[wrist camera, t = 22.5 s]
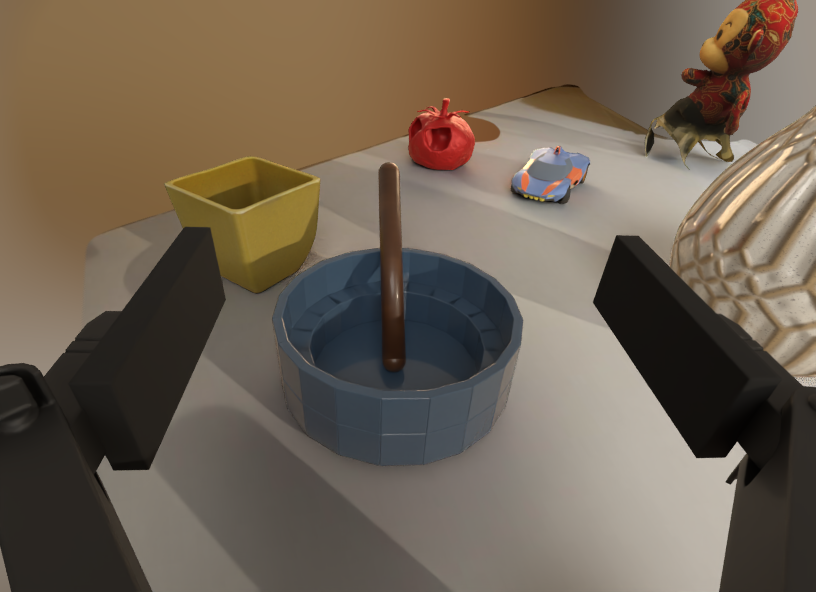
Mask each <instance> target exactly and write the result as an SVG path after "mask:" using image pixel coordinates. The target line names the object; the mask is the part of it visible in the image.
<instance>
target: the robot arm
mask: <svg viewBox="0 0 816 592" xmlns="http://www.w3.org/2000/svg"><path fill="white" fill-rule="evenodd" d="M225 300H226V298H225V293H224V289H223V284H222V279H221V275H220V270H219V265H218V261H217V256H216V251H215V247H214V242H213V237H212V232H211V228H210V227H184V228H183V230H182V231H181V232H180V234H179V235H178V236H177V238H176V239H175V240H174V242H173V243H172V245H171V246H170V247H169V249H168V250H167V251H166V253H165V254H164V255H163V257H162V258H161V259H160V261H159V262H158V263H157V265H156V266H155V267H154V269H153V270H152V271H151V273H150V274H149V275H148V277H147V278H146V280H145V281H144V282H143V284H142V285H141V286H140V288H139V289H138V290H137V292H136V293H135V294H134V296H133V297H132V298H131V300H130V301H129V302H128V304H127V305H126V306H125V308H124V309H123V310H122V311H105V312H104V313H102V314H101V315H99V316H98V317H96V318H95V319H93V320H92V321H90V322H89V323H87V324H86V326H85V327H84V328H83V329H82V330H81V332H80V333H79V334H78V335H77V337H76V338H75V341H73V342H72V343H71V344H70V345H69V347H68V348H67V349H66V352H65V353H63V354H62V355H61V356H60V357H59V359H58V360H57V361H56V362H55V364H54V365H53V366H52V367H51V369H50V370H49V371H48V372H47V373H46V375H45V376H44V377H43V375H42V373H41V372H40V370H38V369H37V368H36V367H35V366H33V365H29V364H25V363H19V364H7V365H4V366H0V547H1V551H2V555H3V559H4V563H5V567H6V572H7V576H8V580H9V584H10V588H11V592H152V590H151V587H150V585H149V583H148V581H147V579H146V577H145V574H144V572H143V570H142V568H141V566H140V564H139V561H138V559H137V557H136V555H135V553H134V550H133V548H132V546H131V544H130V542H129V540H128V537H127V535H126V533H125V531H124V529H123V527H122V524H121V522H120V520H119V518H118V516H117V514H116V511H115V509H114V507H113V505H112V503H111V501H110V498H109V496H108V494H107V492H106V490H105V488H104V485H103V483H102V481H101V479H100V477H99V475H98V473H97V472H96V470H97V468H98V467H99V465H100V463H101V461H102V459H103V458H104V456H105V455H106V457H107V459H108V461H109V463H110V465H111V467H112V469H113V470H149V468H150V466H151V464H152V462H153V460H154V457H155V455H156V453H157V451H158V448H159V446H160V444H161V442H162V440H163V437H164V435H165V433H166V431H167V429H168V426H169V424H170V422H171V420H172V417H173V415H174V413H175V411H176V409H177V406H178V404H179V402H180V400H181V398H182V395H183V393H184V391H185V389H186V386H187V384H188V382H189V380H190V378H191V375H192V373H193V371H194V369H195V367H196V364H197V362H198V360H199V358H200V355H201V353H202V351H203V349H204V347H205V344H206V342H207V340H208V338H209V336H210V333H211V331H212V329H213V327H214V324H215V322H216V320H217V318H218V316H219V313H220V311H221V309H222V307H223V305H224V302H225ZM593 303H594V305H595V306H596V308H597V309H598V311H599V312H600V314H601V315H602V317H603V318H604V320H605V321H606V323H607V324H608V326H609V327H610V329H611V330H612V332H613V333H614V335H615V336H616V338H617V339H618V341H619V342H620V344H621V345H622V347H623V348H624V350H625V351H626V353H627V354H628V356H629V357H630V359H631V360H632V362H633V363H634V365H635V366H636V368H637V369H638V371H639V372H640V374H641V375H642V377H643V378H644V380H645V381H646V383H647V384H648V386H649V387H650V389H651V390H652V392H653V393H654V395H655V396H656V398H657V399H658V401H659V402H660V404H661V405H662V407H663V408H664V410H665V411H666V413H667V414H668V416H669V417H670V419H671V420H672V422H673V423H674V425H675V426H676V428H677V429H678V431H679V432H680V434H681V435H682V437H683V438H684V440H685V441H686V443H687V444H688V446H689V447H690V449H691V450H692V452H693V453H694V455H695V456H696V458H723V457H726V456H727V455H728V453H729V452H730V450H731V449H732V448H733V446H734V445H735V444H736V442H738V443H739V444H740V445H741V447H742V448H743V449H744V451H745V452H746V453H747V454H746V455H745V456H744V457H743V459H742V460H741V461H740V463H739V464H738V465H737V467H736V468H735V469H734V471H733V472H732V473H731V474H730V476H729V477H728V479H727V481H726V483H728V484H730V485H731V483H732V482H733V481H734V480H735V479H737V484H736V490H735V496H734V502H733V509H732V515H731V521H730V527H729V533H728V540H727V546H726V552H725V558H724V565H723V571H722V577H721V583H720V590H719V592H816V387H806V386H802V385H801V384H800V383H799V382H798V381H797V380H796V379H795V378H794V377H793V376H792V375H791V374H790V373H789V372H788V371H787V370H786V369H785V368H784V367H782V366H781V365H780V364H779V363H778V362H777V361H776V360H775V359H774V358H773V357H772V356H771V355H770V354H769V353H768V352H767V351H764V350H763V347H762V346H761V345H760V344H759V343H758V342H757V341H755V340H752V337H751V336H750V335H749V334H748V333H747V332H746V331H745V330H744V329H743V328H742V327H741V326H740V325H739V324H737V323H735V322H734V321H732V320H730V319H729V318H727V317H725V316H724V315H722V314H717V313H716V312H715V311H714V310H713V309H712V308H711V307H710V306H709V305H708V304H706V303H705V302H704V301H703V300H702V299H701V298H700V297H699V296H698V295H697V294H696V293H695V292H694V291H693V290H692V289H691V288H690V287H689V286H688V285H687V284H686V283H685V282H684V281H683V280H682V279H681V278H680V277H679V276H678V275H677V274H676V273H675V272H674V271H673V270H672V269H671V268H670V267H669V266H668V265H667V264H666V263H665V262H664V261H663V260H662V259H661V258H660V257H659V256H658V255H657V254H656V253H655V252H654V251H653V250H652V249H651V248H650V247H649V246H648V245H647V244H646V243H645V242H644V241H643V240H642V239H641V238H640V237H639V236H622V235H616V238H615V241H614V244H613V246H612V249H611V252H610V255H609V258H608V261H607V264H606V266H605V269H604V272H603V275H602V278H601V281H600V283H599V286H598V289H597V292H596V295H595V298H594V301H593Z"/></svg>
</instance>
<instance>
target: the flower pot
mask: <svg viewBox="0 0 816 592" xmlns="http://www.w3.org/2000/svg"><path fill="white" fill-rule="evenodd" d="M164 185H165V187H166V190H167V192H168V194H169V197H170V199H171V201H172V204H173V206H174V209H175V211H176V213H177V216H178V218H179V220H180V223H181V225H182V227H183V228H184V227H210V228H211V232H212V237H213V242H214V247H215V251H216V256H217V261H218V265H219V270H220V275H221V276H222V277H224V278H226V279H228V280H230V281H232V282H234V283H236V284H238V285H240V286H242V287H244V288H245V289H247V290H249V291H251V292H254V293H260V292H262V291H264V290H266V289H267V288H269V287H271V286H272V285H274V284H276V283H277V282H279V281H281V280H282V279H284V278H286V277H288V276H289V275H291V274H293V273H294V272H296V271H297V270H298V269H299V268H300V267H301V265H302V264H303V262H304V261H305V259H306V257H307V255H308V254H309V252H310V249H311V247H312V245H313V242H314V239H315V235H316V230H317V220H318V206H319V191H320V178H318V177H316V176H313V175H310V174H308V173H304V172H301V171H298V170H295V169H292V168H288V167H285V166H282V165H279V164H276V163H273V162H271V161H268V160H265V159H261V158H258V157H253V156H248V157H244V158H241V159H238V160H235V161H232V162H229V163H226V164H223V165H220V166H217V167H214V168H211V169H208V170H205V171H201V172H197V173H194V174H190V175H187V176H183V177H181V178H177V179H174V180H172V181H169V182H166V183H165V184H164Z"/></svg>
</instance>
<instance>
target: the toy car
mask: <svg viewBox="0 0 816 592" xmlns="http://www.w3.org/2000/svg"><path fill="white" fill-rule="evenodd" d="M558 148H559V149H558ZM557 149H558V150H557ZM589 165H590V160H589V158H588V157H586V156H584V155H582V154H580V153H568V152H565V151H564V150H563V149H562V147H561V146H557V147H556V149H553V148H539V149H536V150H534V151H533V152H532V154H531V156H530V158H529V160H528V163H527V164H526V166H525V167H524V168H523V169H522V170H521V171H518V172H517V173H516V174H515V175H514V177H513V179H512V185H511V192H513V193H520V194H521V195H522V196H524V197H526V198H527V197H528V196H529V198H531V199H533V198H534V199H535V200H538V199H539V200H540V201H544V200H545V201H554V202H556V201H558V202H559V203H562V204H564V203H567V202H568V200H569V197H570V189H572V188H573V187H575V186H576V185H578V183H583V182H584V180H585V178H586V174H587V170H588V166H589ZM539 197H540V198H539Z"/></svg>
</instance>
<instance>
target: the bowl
mask: <svg viewBox="0 0 816 592" xmlns="http://www.w3.org/2000/svg"><path fill="white" fill-rule="evenodd" d="M402 264H403V293H404V322H405V351H406V363H405V366H404V367H403V369H402V370H400V371H398V372H390V371H388V370H386V369H385V367H384V366H383V362H382V318H381V269H380V248H374V249H367V250H360V251H353V252H348V253H344V254H341V255H338V256H335V257H332V258H329V259H326V260H323V261H321V262H319V263H317V264H315V265H314V266H312V267H310V268H309V269H307V270H305V271H304V272H302V273H300V274H299V275H297V276H296V277H295V278H294V279H293V280H292V281H291V282H290V283H289V285H288V286H287V287H286V288H285V289H284V290H283V291H282V292H281V294H280V295H279V297H278V301H277V304H276V307H275V311H274V314H273V317H272V322H273V329H274V336H275V342H276V349H277V356H278V362H279V369H280V375H281V382H282V387H283V391H284V396H285V400H286V405H287V409H288V410H289V412H290V413H291V414H292V416H293V417H294V418H295V420H296V421H297V422H298V424H299V425H300V426H301V427H302V429H303V430H304V431H305V433H306V434H307V435H308V436H309V437H311V438H312V439H314V440H316V441H317V442H319V443H320V444H322V445H323V446H325V447H327V448H328V449H330V450H331V451H333V452H335V453H336V454H338V455H341V456H345V457H348V458H352V459H356V460H360V461H363V462H367V463H371V464H375V465H380V466H393V465H422V464H423V465H425V464H428V463H431V462H434V461H437V460H441V459H444V458H447V457H450V456H453V455H457V454H460V453H461V452H463V451H464V450H466V449H467V448H468V447H470V446H471V445H473V444H474V443H475V442H477V441H478V440H480V439H481V438H482V437H484V436H485V435H486V434H488V433H489V432H490V431H491V429H492V428H493V426H494V424H495V423H496V421H497V420H498V418H499V416H500V415H501V413H502V412H503V410H504V408H505V406H506V402H507V398H508V394H509V390H510V386H511V382H512V378H513V374H514V370H515V366H516V362H517V358H518V354H519V350H520V346H521V340H522V329H523V318H522V316H521V314H520V311H519V309H518V306H517V304H516V302H515V299H514V298H513V296H512V295H511V294H510V293H509V292H508V291H507V290H506V289H505V288H504V287H503V286H502V285H501V284H500V283H499V282H498V281H497V280H496V279H495V278H494V277H492V276H490V275H489V274H487V273H485V272H484V271H482V270H480V269H479V268H477V267H475V266H474V265H472V264H470V263H468V262H465V261H462V260H459V259H456V258H453V257H450V256H448V255H445V254H441V253H435V252H429V251H423V250H418V249H411V248H402Z"/></svg>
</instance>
